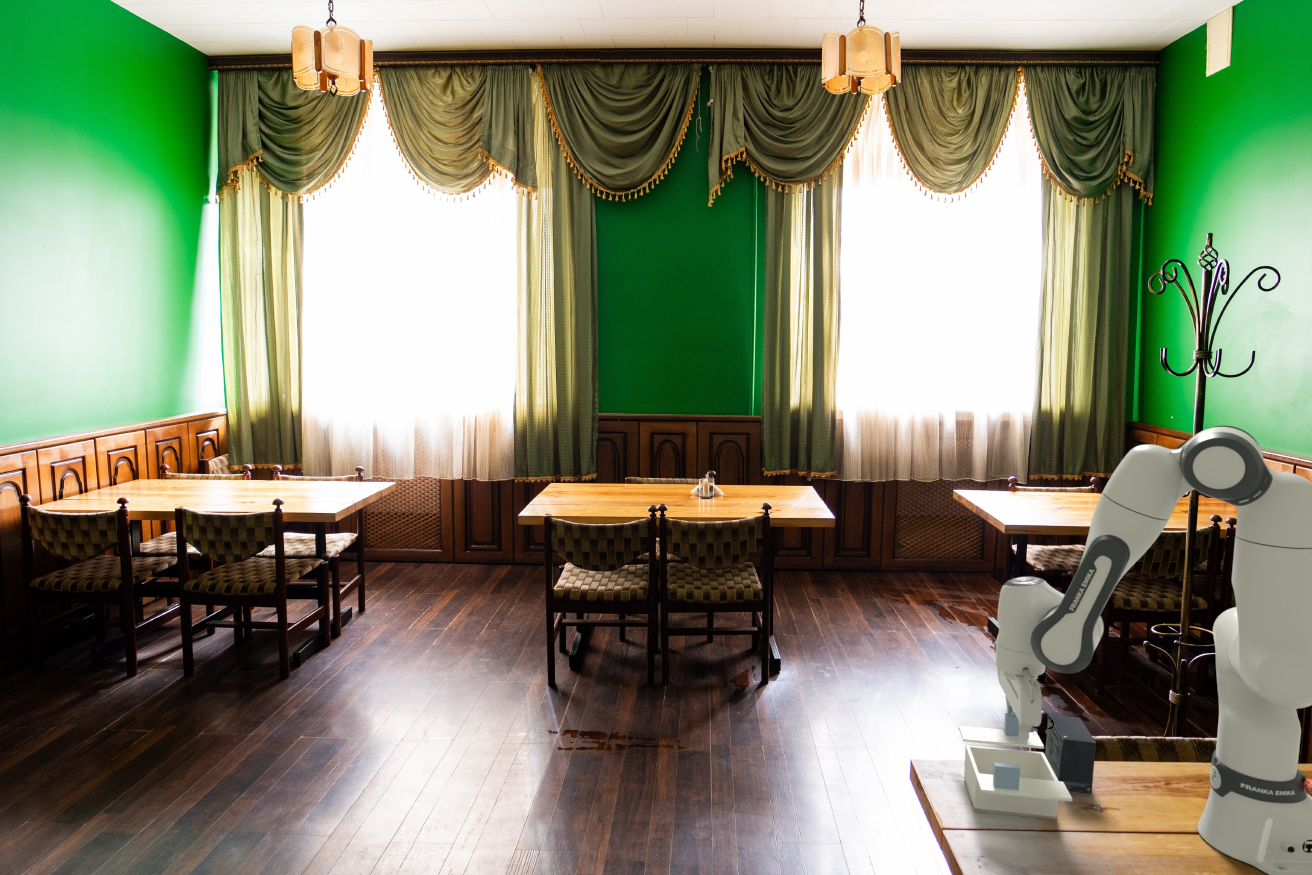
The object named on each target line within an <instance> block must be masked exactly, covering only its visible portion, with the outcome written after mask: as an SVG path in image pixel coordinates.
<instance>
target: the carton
mask: <svg viewBox="0 0 1312 875" xmlns="http://www.w3.org/2000/svg"><path fill="white" fill-rule="evenodd" d="M964 751H965V752H964V754H965V755H964V773H963V774H964V775H963V780H964V779H965V781H964V783H965V782H966V784H965V786H967V787H966V789H968V790H967V793H968V792H969V793H968V797H969V799H970V802H971V805H972V808H973V811H974V812H978V813H980V812H981V813H988V814H996V815H1005V816H1006V815H1007V816H1016V817H1025V818H1035V819H1044V820H1051V821H1053V820H1054V821H1058V817H1059V816H1058V813H1059V801H1060V800H1053V799H1043V798H1033V797H1024V796H1014V795H1004V794H995V793H985V792H981V790H980V787H979V784H978V782H977V779H976V776H975V774H976V773H980V774H990V775H993V772H994V763H1004V764H1014V765H1019V767H1020V777H1021V778H1031V779H1041V780H1051V781H1058V779H1057V777H1056V775H1055V773H1054V772H1053V770H1052V768H1051V766H1050V764H1049V762H1048V760H1047V758H1046V757H1045V753H1044V751H1034V750H1033V751H1032V750H1025V749H1024V750H1023V749H1013V748H1012V749H1011V748H1000V747H993V746H992V747H991V746H982V745H981V746H980V745H979V746H978V745H971V744H965V749H964Z"/></svg>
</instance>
